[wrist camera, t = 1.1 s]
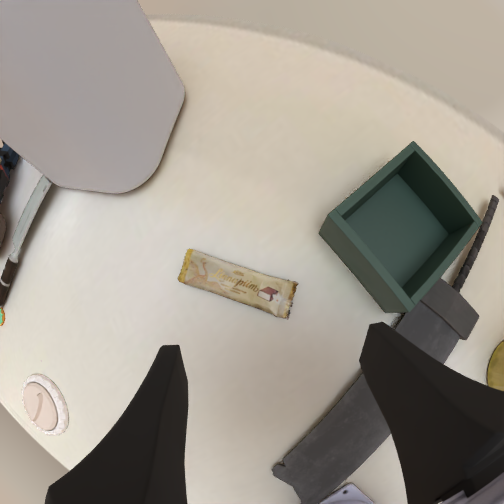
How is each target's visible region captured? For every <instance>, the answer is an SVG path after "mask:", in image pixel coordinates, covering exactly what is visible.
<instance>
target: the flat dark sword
mask: <svg viewBox="0 0 504 504" xmlns="http://www.w3.org/2000/svg"><path fill="white" fill-rule="evenodd" d="M498 202H499V199H498V198H497V197H496V196H494V195H492V198H491V200H490V203H489V206H488V210H487V211H486V214H485V217H484V219H483V221H482V225H481V226H480V229H479V231H478V233H477V236H476V238H475V241H474V243H473V245H472V247H471V250H470V251H469V253H468V255H467V258H466V260H465V262H464V264H463V267H462V268H461V270H460V272H459V274H458V276H457V278H456V279H455V281H454V285H453V286H452V287H451V286H450V285H449V284H447V283H446V282H445V281H444V280H442V279H441V278H439V280H438V281H437V282H436V283H435V284H434V285H433V287H432V288H431V289H430V290H429V291H428V292H427V293H426V294H425V296H424V297H423V298H422V299H421V300H420V301H419V302H418V303H417V304H416V305H415V307H414V308H413V309H412V310H411V311H410V312H406V314H405V315H404V317H403V318H402V320H401V321H400V323H399V324H398V326H397V327H396V329H395V331H397V332H398V333H399V334H401V335H402V336H403V337H405V338H406V339H407V340H409V341H410V342H411V343H413V344H414V345H416V346H417V347H418V348H420V349H421V350H423V351H424V352H425V353H427V354H428V355H430V356H431V357H433V358H434V359H436V360H437V361H439V362H441V363H442V364H444V363H445V361H446V360H447V358H448V356H449V355H450V353H451V352H452V350H453V348H454V347H455V345H456V343H457V342H458V340H459V338H460V339H462V340H467V338H468V337H469V335H470V333H471V331H472V329H473V328H474V326H475V324H476V322H477V320H478V318H479V315H478V314H477V312H476V311H475V310H474V309H473V308H472V307H471V306H470V304H469V303H468V302H467V301H466V300H465V299H464V298H463V297H462V296H461V295H460V293H459V292H460V289H461V288H462V286H463V284H464V282H465V279H466V278H467V276H468V274H469V272H470V271H469V270H471V268H472V266H473V264H474V261H475V260H476V258H477V255H478V252H479V250H480V248H481V245H482V243H483V241H484V239H485V236H486V234H487V232H488V228H489V227H490V224H491V220H492V219H493V216H494V213H495V210H496V208H497V205H498ZM390 434H391V431H390V429H389V427H388V424H387V422H386V420H385V418H384V416H383V414H382V412H381V410H380V408H379V406H378V404H377V402H376V400H375V398H374V396H373V394H372V392H371V390H370V388H369V386H368V384H367V382H366V379H365V377H364V374H363V373H362V374H361V376H360V377H359V378H358V379H357V381H356V382H355V383H354V384H353V385H352V387H351V388H350V389H349V390H348V391H347V393H346V394H345V395H344V396H343V397H342V398H341V400H340V401H339V402H338V403H337V404H336V405H335V406H334V408H333V409H332V410H331V411H330V412H329V413H328V414H327V415H326V416H325V417H324V419H323V420H322V421H321V422H320V423H319V424H318V425H317V426H316V427H315V428H314V429H313V430H312V431H311V432H310V433H309V434H308V435H307V436H306V437H305V438H304V439H303V440H302V441H301V442H300V443H299V444H298V445H297V446H296V447H295V448H294V449H293V450H292V451H291V452H290V453H289V454H288V455H287V456H286V457H285V458H284V459H283V462H284V464H285V465H282V464H277V465H276V466H275V467H274V468H273V469H272V472H273V475H274V476H275V477H277V478H279V479H280V480H282V481H284V482H286V483H287V484H289V485H291V486H292V487H293V488H294V490H295V491H296V493H297V495H298V496H299V498H300V499H301V504H317V503H319V502H320V501H321V500H322V499H324V498H325V497H326V496H327V495H328V494H330V493H331V492H332V491H333V490H334V489H335V488H336V487H338V486H339V485H340V484H341V483H342V482H343V481H344V480H345V479H347V478H348V477H349V476H350V475H351V474H352V473H353V472H354V471H355V470H356V469H357V468H358V467H359V466H360V465H361V464H362V463H363V462H364V461H365V460H366V459H367V458H368V457H369V456H370V455H371V454H372V453H373V452H374V451H375V450H376V449H377V448H378V447H379V446H380V445H381V444H382V443H383V442H384V440H385V439H386V438H387V437H388V436H389V435H390Z"/></svg>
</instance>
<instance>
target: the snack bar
mask: <svg viewBox="0 0 504 504" xmlns="http://www.w3.org/2000/svg"><path fill="white" fill-rule="evenodd" d="M178 280H179V282H182V283H184V284H186V285H190V286H193V287H196V288H199V289H203V290H207V291H210V292H213V293H216V294H218V295H221V296H224V297H227V298H229V299H232V300H235V301H238V302H241V303H244V304H246V305H250V306H253V307H255V308H258V309H260V310H263V311H266V312H268V313H271V314H274V316H276V317H281V318H285V319H286V316H287V315H288V316H287V319H288V318H289V314H290V310H289V306H290V307H292V305H291V304H293V302H292V303H291V300H292V299H293V297H294V293H295V291H296V286H297V285H298V283H297V282H294V281H289V280H287V281H286V280H283V279H279V278H275V277H271V276H268V275H264V274H260V273H258V272H255V271H252V270H249V269H247V268H243V267H240V266H237V265H234V264H231V263H228V262H225V261H223V260H220V259H217V258H214V257H211V256H208V255H206V254H204V253H201V252H198V251H195V250H192V249H188V250H187V253H186V256H185V260H184V262H183V266H182V269H181V273H180V275H179V276H178ZM293 291H294V292H293ZM287 313H288V314H287ZM278 315H279V316H278Z"/></svg>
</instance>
